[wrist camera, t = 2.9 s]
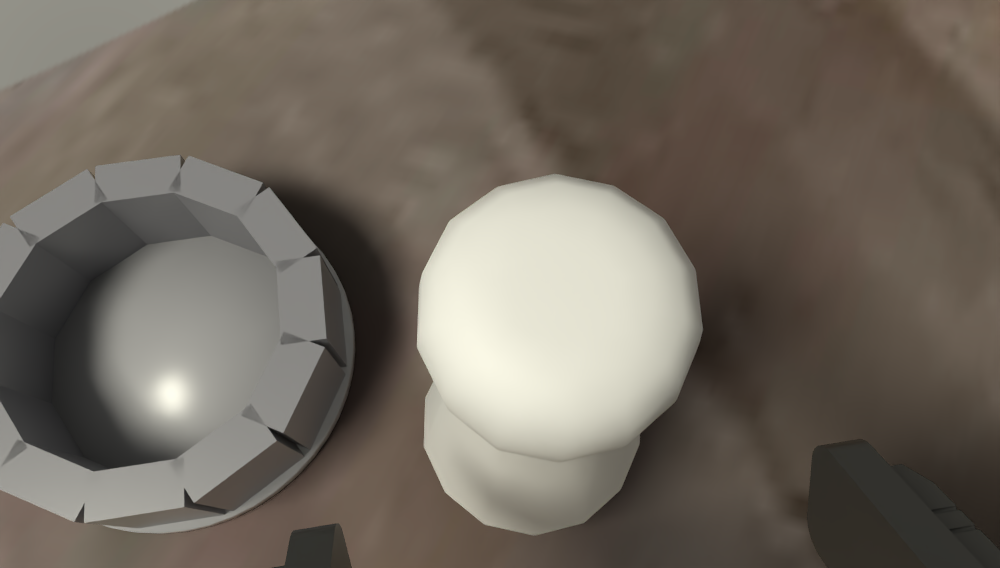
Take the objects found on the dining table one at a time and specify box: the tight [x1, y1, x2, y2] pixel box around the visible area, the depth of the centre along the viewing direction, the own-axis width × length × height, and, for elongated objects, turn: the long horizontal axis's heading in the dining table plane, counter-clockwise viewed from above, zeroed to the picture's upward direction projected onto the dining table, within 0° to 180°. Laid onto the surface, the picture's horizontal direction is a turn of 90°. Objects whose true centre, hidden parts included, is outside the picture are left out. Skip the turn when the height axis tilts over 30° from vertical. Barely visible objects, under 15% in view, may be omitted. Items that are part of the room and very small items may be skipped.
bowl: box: [0, 155, 355, 534], centre depth 22 cm, size 10×10×4 cm
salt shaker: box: [417, 174, 703, 536], centre depth 17 cm, size 6×6×13 cm
